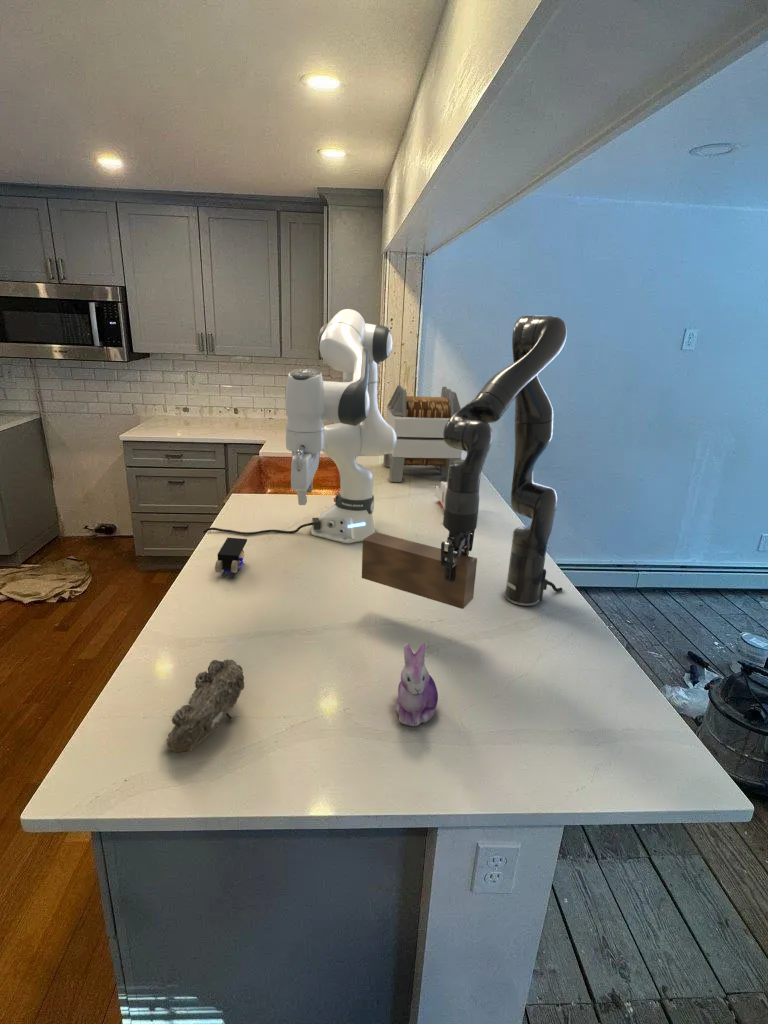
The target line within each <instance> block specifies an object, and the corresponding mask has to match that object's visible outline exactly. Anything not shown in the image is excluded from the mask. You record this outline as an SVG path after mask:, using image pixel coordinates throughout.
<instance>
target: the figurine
mask: <svg viewBox="0 0 768 1024" xmlns="http://www.w3.org/2000/svg"><path fill="white" fill-rule="evenodd" d="M427 651H428V645H427V642H422V643H421V644H420V646H419V647H418V649H417V651H416V653H414V651H413V649H412V648H411V645H410V644H408V643H405V644H404V646H403V655H404V666H403V668H402V670H401V672H400V682H399V683H398V685H397V686H398V687H397V699H396V704H395V712H396V713H397V715H398V721H399V723H400V724H403V725H405V726H406V725H407V726H410V727H417V726H419V725H421V724H423V723H427V722H428V721H430V719H431V718H432V717H433V716H434V714H435V712H436V709H437V705H438V701H439V694H438V688H437V684H436V682H435V680H434V678H433V676H431V674H430V673H429V671H428V668H427V667H426V663H425V659H426V654H427Z"/></svg>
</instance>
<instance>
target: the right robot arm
mask: <svg viewBox="0 0 768 1024" xmlns="http://www.w3.org/2000/svg"><path fill="white" fill-rule="evenodd" d="M567 329H568V328H567V325H566V322H565V321H564V319H562V318H561V317H559V316H555V315H538V314H537V315H535V314H525V315H522V316H520V317H518V319H517V320H516V321H515V323H514V326H513V330H512V335H511V336H512V337H511V338H512V339H511V348H512V361H513V363H511V364H509V365H507V366H506V367H505V368H503V369H501V370H500V371H498V372H497V373H495V374H494V375H492V377H491V378H490V379H488V380H487V382H486V383H485V384H484V385H483V387H482V388H481V390H480V391H478V394H477V395H475V397H474V399H472V400H471V401H469V402H467V403H466V404H465V405H464V406H462V407H460V408H461V409H460V410H459V411H457V412H456V413H455V414H454V415H453V416H452V417H451V418H450V419H449V420H448V422H447V423H446V425H445V428H444V432H443V438H444V441H445V443H446V444H447V445H448V446H449V447H451V448H454V449H458V450H462V452H466V456H465V459H462V460H456V461H453V462H452V463H451V464H450V466H449V471H448V482H447V481H446V482H447V491H446V496H445V506H444V508H443V519H442V520H443V521H442V526H443V527H444V529H446V530H447V531H448V534H447V538H446V541H441V543H440V549H441V565H442V566H445V576H444V579H445V580H446V581H449V582H453V581H454V578H455V566H456V562H457V559H458V558H460V556H461V554H463V555H467V556H470V552H472V550H473V546H474V539H475V531H476V529H477V526H478V518H479V517H478V516H479V508H480V507H479V506H480V485H481V476H482V475H481V474H482V470H483V468H484V465H485V462H486V459H487V457H488V454H489V452H490V449H491V446H492V444H493V440H494V434H493V428H492V426H491V424H493V423H496V422H499V420H500V419H501V418H502V417H503V415H504V414H505V413H506V411H507V410H508V408H509V407H510V406H511V404H512V403H513V402H514V403H515V404H514V456H513V457H514V459H513V472H512V481H511V489H510V490H511V491H510V506H511V509H512V511H513V512H514V513H516V514H517V515H520V516H522V517H525V518H528V519H531V522H530V525H522V526H518V527H516V528H515V529H513V533H512V539H511V540H512V541H511V547H510V555H509V563H508V570H507V579H506V584H505V585H506V586H505V592H504V598H505V600H506V601H508V602H509V603H511V604H514V605H517V606H521V607H533V606H535V605H537V604H539V602H542V601H543V596H544V591H546V590H547V589H548V588H547V587H548V586H550V587H551V588H552V590H553V591H554V592H557V593H559V592H562V591H563V588H562V587H558V588H557V586H556V584H555V583H553V582H552V581H550V580H548V579H547V578H546V576H547V569H546V568H545V563H546V562H545V561H546V556H547V549H548V542H549V539H550V537H551V534H552V530H553V526H554V525H553V524H554V520H555V515H556V511H557V506H558V494H557V492H556V490H555V489H554V488H552V487H551V486H550V487H549V486H547V485H543V484H540V483H537V482H534V470H535V465H536V463H537V461H538V459H539V458H540V456H541V455H542V454H543V453H544V451H545V450H546V449H547V447H548V446H549V445H550V443H551V440H552V439H553V433H554V408H553V405H552V403H551V401H550V398H549V396H548V394H547V392H546V391H545V389H544V387H543V386H542V384H541V381H540V378H539V376H538V375H539V374H540V373H541V372H542V371H543V370H544V369H545V368H546V367H547V366H548V365H549V364H550V363H551V362H552V361H553V360H554V359H556V357H557V356H558V355H559V354H560V353H561V352H562V350H563V348H564V346H565V343H566V341H567V334H568V330H567ZM453 552H455V553H456V554H455V553H453ZM453 557H454V559H453Z"/></svg>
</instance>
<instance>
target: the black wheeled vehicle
mask: <svg viewBox="0 0 768 1024" xmlns="http://www.w3.org/2000/svg"><path fill="white" fill-rule="evenodd" d="M247 542H248V538H240V537H226V539H225V541H224V543H223V544H222V546H221V547H220V549H219V551H218V552H217V560H216V562H215V564H214V572H215V573H221V577H222V578H224V577H225V576H226V574H227V573H230V574H231V573H232V574H231V578H234V577H235V575H236V573H237V572H239V571H240V567H242V566H243V565H244V564H245V562H244V558H245V551H244V547H245V546H246V544H247Z"/></svg>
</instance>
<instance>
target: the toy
mask: <svg viewBox="0 0 768 1024" xmlns="http://www.w3.org/2000/svg"><path fill="white" fill-rule="evenodd" d="M446 491H447V481H440V487H439V486H438V485H435V491H434V497H435V498H436V499H437V503H438V504H439V505H440V506H441V508H443V509H444V506H445V496H446Z"/></svg>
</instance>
